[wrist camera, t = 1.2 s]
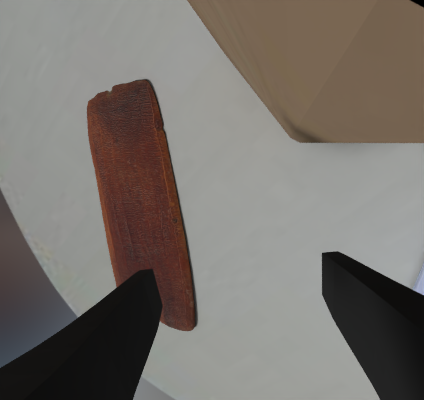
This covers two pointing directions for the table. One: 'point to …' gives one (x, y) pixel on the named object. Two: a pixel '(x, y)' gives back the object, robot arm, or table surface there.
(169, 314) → the wooden tablet
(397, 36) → the block
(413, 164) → the table surface
